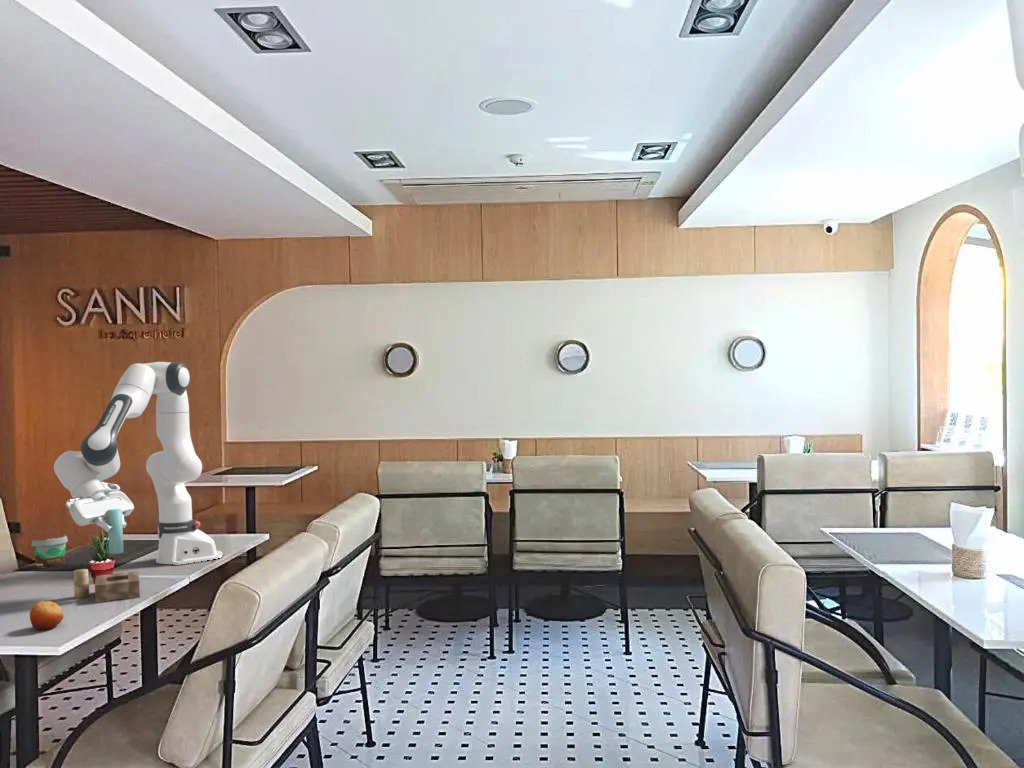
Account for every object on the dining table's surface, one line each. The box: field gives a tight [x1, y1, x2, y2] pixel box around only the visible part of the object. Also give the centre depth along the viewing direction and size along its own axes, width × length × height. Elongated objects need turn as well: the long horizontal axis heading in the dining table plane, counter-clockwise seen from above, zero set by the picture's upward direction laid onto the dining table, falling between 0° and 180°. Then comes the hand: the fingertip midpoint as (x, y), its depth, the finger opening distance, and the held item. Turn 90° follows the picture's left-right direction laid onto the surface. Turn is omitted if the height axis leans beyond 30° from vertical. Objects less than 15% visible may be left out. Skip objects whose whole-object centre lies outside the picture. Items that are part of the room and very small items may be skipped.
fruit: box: [29, 600, 64, 630], centre depth 234 cm, size 8×8×8 cm
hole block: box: [94, 570, 141, 604], centre depth 267 cm, size 12×14×5 cm
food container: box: [31, 533, 69, 568], centre depth 311 cm, size 12×6×10 cm, turn 148°
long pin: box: [107, 509, 125, 555], centre depth 267 cm, size 4×4×13 cm
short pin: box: [73, 568, 90, 599], centre depth 266 cm, size 4×4×8 cm
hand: (116, 528), depth 267 cm, fingers closed on long pin, 4 cm apart
